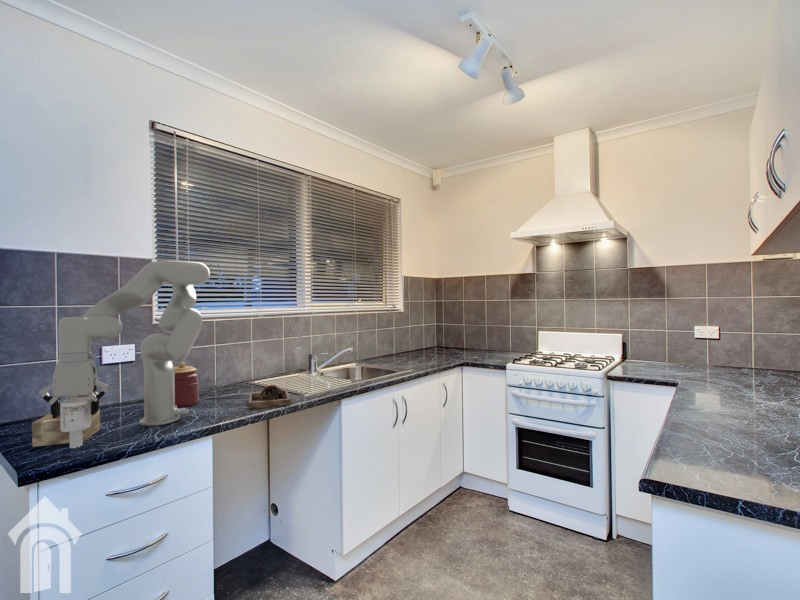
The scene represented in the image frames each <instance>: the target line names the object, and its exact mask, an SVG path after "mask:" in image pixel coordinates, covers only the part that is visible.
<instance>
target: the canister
mask: <svg viewBox="0 0 800 600" xmlns="http://www.w3.org/2000/svg"><path fill="white" fill-rule="evenodd" d="M197 370H198V369H197V368H196V367H194V366H193V365H186V363H185V362H184V361H181V362H178V365H177V366H174V372H175V405H177V408H179V407H178V406H180V407H186V405H187V406H192V405H195V404H198V402H199V399H200V393H199V390H200V386H199V384H200V381H199V379H198V377H199V375H200V374H199V373H198V372H197Z"/></svg>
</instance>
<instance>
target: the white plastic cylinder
mask: <svg viewBox="0 0 800 600" xmlns="http://www.w3.org/2000/svg"><path fill="white" fill-rule="evenodd" d="M59 402H60V417H61V431H62V432H70V443H69V449H78V448H81V447H83V446H82V445H84V444H83V442H84V441H83V433H82V430H83V429H86V428H89V427H90V426H91V399H90V398H77V396H75V397H70V399H69V400H68V399H66V400H61V401H59ZM85 404H88V405H86V406H84V408H82V406H81V405H85ZM77 406H81V407H78V409H73V408H77ZM87 408H88V412H87ZM72 409H73V410H72ZM69 410H70V412H67V411H69ZM63 411H64V414H63ZM80 446H81V447H80ZM77 447H78V448H77Z"/></svg>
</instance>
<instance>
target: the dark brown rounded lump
mask: <svg viewBox="0 0 800 600" xmlns="http://www.w3.org/2000/svg"><path fill="white" fill-rule="evenodd" d="M282 391H283V390H282V389H281V388H280V387H278V386H277V385H276V384H269V385H267V386H265V387H264V388H263V389H262V390H261V391H260V392H261V399H260V401H269V400H280V399H285V396H283V394H282ZM264 392H265V393H266V396H265V395H263V393H264Z"/></svg>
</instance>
